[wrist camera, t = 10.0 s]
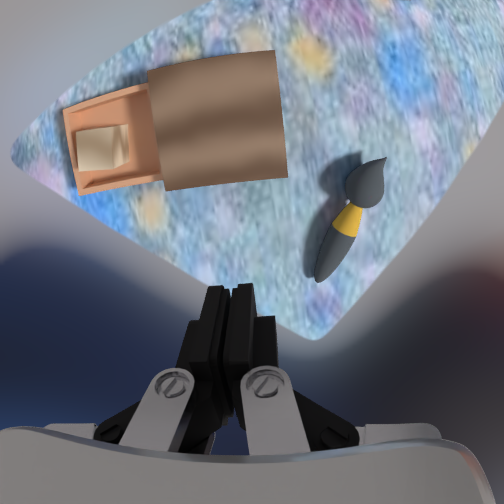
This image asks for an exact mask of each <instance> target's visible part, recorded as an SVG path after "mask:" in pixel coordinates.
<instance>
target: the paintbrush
mask: <svg viewBox="0 0 504 504" xmlns="http://www.w3.org/2000/svg"><path fill="white" fill-rule="evenodd" d="M386 159H387V157H385V158H382V159H377V160H373V161H370V162H367V163H365V164H363V165H361V166H359V167H358V168H356V169H355V170H354V171H352V172H351V173H350V175H349V176H348V177H347V180H346V183H345V191H346V194H347V197H348V199H349V200H350V202H349V204H348V205H347V206H346V207H345V208H344V209H343V210H342V211H341V213H340V214H339V215H338V216H337V217H336V219H335V220H334V221H333V223H332V224H331V226H330V228H329V230H328V232H327V235H326V237H325V239H324V242H323V244H322V247H321V250H320V253H319V256H318V259H317V263H316V267H315V273H314V278H315V281H316V282H317V283H320V282H322V281H324V280H325V279H326V278H328V277H329V276H330V275H331V274H332V273H333V271H334V270H335V269H336V268H337V267H338V265H339V264H340V263H341V261H342V260H343V259H344V257H345V256H346V254H347V252H348V251H349V249H350V247H351V246H352V244H353V242H354V240H355V238H356V235H357V232H358V228H359V224H360V220H361V215H362V209H363V208H370V207H373V206H375V205H376V204H378V203H379V202H380V200H381V199H382V197H383V193H384V177H383V167H384V164H385V161H386Z"/></svg>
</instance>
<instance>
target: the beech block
mask: <svg viewBox="0 0 504 504" xmlns="http://www.w3.org/2000/svg"><path fill="white" fill-rule="evenodd" d="M76 143H77V157H78V168H79V172H80V171H93V170H107V169H114V168H117V167H119V166H121V165H123V164H125V163H127V162H129V140H128V124H124V125H115V126H106V127H98V128H92V129H87V130H82V131H77V132H76Z"/></svg>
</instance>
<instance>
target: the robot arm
mask: <svg viewBox="0 0 504 504" xmlns="http://www.w3.org/2000/svg"><path fill="white" fill-rule="evenodd" d="M407 1H410V0H407ZM234 408H235V411H236V415H237V417H238V420H239V424H240V427H241V428H242V429H244V430H245V431H246V432H247V439H248V446H249V453H250V456H230V455H229V456H227V455H210V452H211V449H212V445H213V442H214V439H215V431H216V430H218V429H219V428H221V426H222V425H227V424H228V417H233V414H234ZM0 504H496V503H495V500H494V497H493V494H492V491H491V488H490V485H489V483H488V481H487V478H486V476H485V474H484V472H483V469H482V467H481V465H480V464H479V462H478V460H477V459H476V458H475V456H474V455H473V453H472V452H471V451H470V450H469V449H467V448H466V447H465V446H463V445H461V444H459V443H456V442H452V441H447V440H442V439H441V435H440V432H439V431H438V430H437V428H436V427H434V426H432V425H430V424H426V423H413V424H366V426H365V427H355V426H353V425H352V424H351V423H349V422H347V421H346V420H344V419H342V418H341V417H339V416H337V415H335V414H334V413H332V412H330V411H328V410H326V409H325V408H323V407H321V406H320V405H318V404H316V403H315V402H313V401H311V400H310V399H308V398H306V397H305V396H303V395H301V394H300V393H298V392H296V391H295V390H293V389H292V386H291V383H290V379H289V377H288V375H287V374H286V373H285V372H284V371H283V370H282V369H279V366H278V347H277V333H276V321H275V316H262V317H257V311H256V303H255V295H254V287H253V283H246V284H238V288H233V290H232V296H230V291H229V289H224V286H223V285H219V286H209V287H208V289H207V293H206V297H205V301H204V304H203V308H202V311H201V316H200V319H199V320H191V321H190V322H189V324H188V327H187V330H186V334H185V337H184V340H183V343H182V347H181V350H180V353H179V357H178V360H177V364H176V367H175V368H171V369H166V370H164V371H162V372H160V373H159V374H157V375H156V376H155V377H154V379H153V380H152V381H151V383H150V385H149V387H148V389H147V391H146V393H145V395H144V396H143V398H142V400H140V401H139V402H137V403H135V404H134V405H132V406H130V407H128V408H127V409H125V410H123V411H122V412H120V413H118V414H116V415H114V416H113V417H111V418H109V419H107V420H105V421H104V422H102V423H101V424H100V425H99V426H96V425H95V424H94V423H93V424H92V423H91V424H50V425H48V426H46V427H44V428H38V427H25V426H22V427H11V428H7V429H4V430H1V431H0Z"/></svg>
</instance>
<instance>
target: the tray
mask: <svg viewBox="0 0 504 504" xmlns="http://www.w3.org/2000/svg"><path fill="white" fill-rule="evenodd" d="M63 116H64V123H65V129H66V135H67V141H68V147H69V152H70V157H71V162H72V167H73V172H74V176H75V180H76V185H77V189H78V193H79V196H81V195H86V194H90V193H95V192H100V191H105V190H110V189H115V188H120V187H125V186H131V185H136V184H142V183H148V182H153V181H159V180H163V175H162V169H161V164H160V158H159V152H158V146H157V140H156V134H155V127H154V121H153V114H152V107H151V99H150V92H149V84H148V82H147V83H143V84H139V85H135V86H132V87H128V88H125V89H121V90H118V91H115V92H111V93H108V94H105V95H102V96H99V97H96V98H93V99H90V100H87V101H84V102H82V103H79V104H76V105H74V106H71V107H68V108H66V109H63ZM124 124H128V140H129V162H127V163H125V164H123V165H121V166H119V167H117V168H114V169H107V170H93V171H80V172H79V168H78V157H77V143H76V132H77V131H82V130H87V129H92V128H98V127H106V126H115V125H124Z"/></svg>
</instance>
